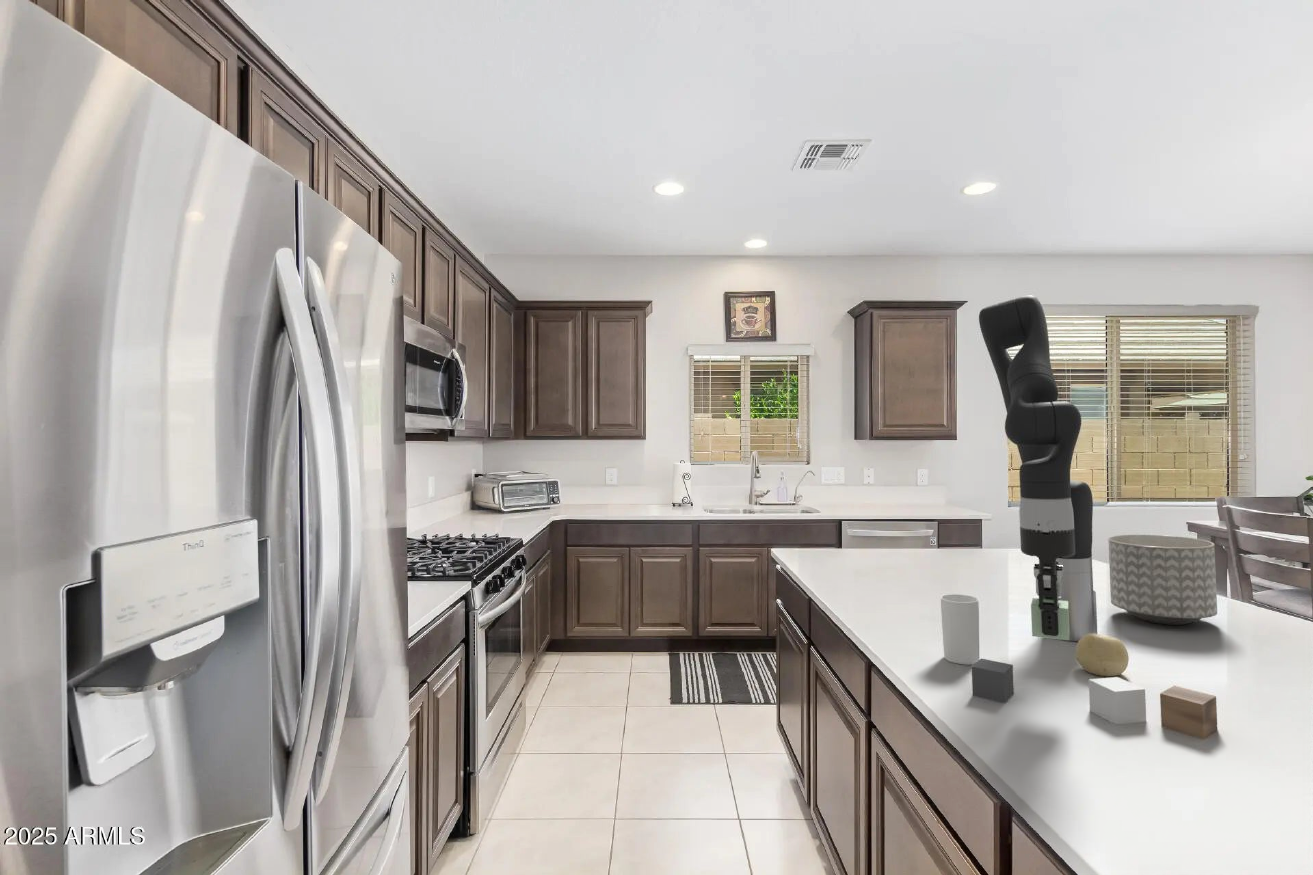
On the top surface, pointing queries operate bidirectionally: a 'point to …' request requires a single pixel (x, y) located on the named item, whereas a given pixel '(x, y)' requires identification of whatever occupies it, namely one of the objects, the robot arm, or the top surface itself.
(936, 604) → the top surface
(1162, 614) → the planter
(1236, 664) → the top surface
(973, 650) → the mug
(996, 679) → the charcoal block
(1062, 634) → the sage block
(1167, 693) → the walnut block
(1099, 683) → the grey block
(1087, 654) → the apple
